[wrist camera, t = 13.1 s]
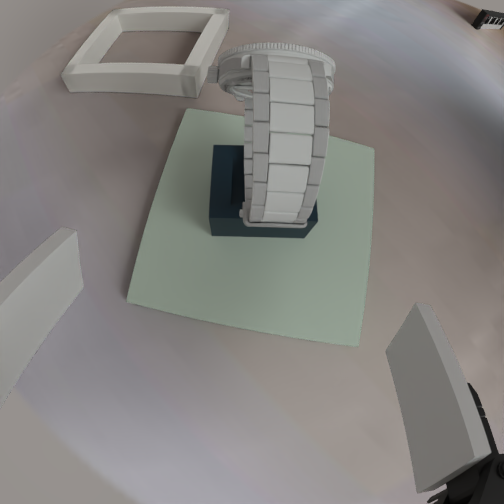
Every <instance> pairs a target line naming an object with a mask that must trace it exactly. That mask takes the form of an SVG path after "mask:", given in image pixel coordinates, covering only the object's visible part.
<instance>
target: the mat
mask: <svg viewBox="0 0 504 504" xmlns="http://www.w3.org/2000/svg"><path fill="white" fill-rule="evenodd" d="M244 126H245V117H244V116H238V115H232V114H226V113H219V112H212V111H205V110H198V109H190V108H187V109H186V112H185V114H184V117H183V119H182V122H181V124H180V127H179V129H178V132H177V134H176V137H175V140H174V142H173V145H172V148H171V150H170V153H169V156H168V159H167V161H166V164H165V167H164V170H163V173H162V176H161V179H160V182H159V185H158V188H157V191H156V194H155V197H154V200H153V203H152V207H151V210H150V213H149V216H148V220H147V223H146V226H145V230H144V233H143V237H142V240H141V244H140V248H139V251H138V255H137V259H136V263H135V266H134V270H133V274H132V278H131V283H130V287H129V291H128V295H127V300H126V302H129V303H133V304H136V305H140V306H144V307H148V308H152V309H156V310H160V311H164V312H168V313H172V314H177V315H181V316H185V317H189V318H194V319H198V320H203V321H207V322H212V323H217V324H222V325H226V326H231V327H236V328H241V329H247V330H252V331H257V332H263V333H268V334H274V335H279V336H285V337H291V338H297V339H304V340H310V341H317V342H324V343H331V344H338V345H346V346H353V347H358V346H359V340H360V334H361V328H362V321H363V314H364V307H365V299H366V291H367V282H368V273H369V263H370V251H371V238H372V223H373V202H374V148H371V147H367V146H364V145H361V144H358V143H354V142H351V141H347V140H344V139H340V138H337V137H333V136H329V138H328V147H327V154H326V157H324V158H325V164H324V170H323V174H322V179H321V183H320V185H319V191H318V195H317V211H318V222H317V223H316V225H315V226H314V227H313V228H312V230H311V231H310V232H309V233H308V235H307V236H306V237H305V238H271V237H232V236H212V234H211V228H210V223H209V202H210V186H211V171H212V157H213V145H244ZM246 126H252V125H246ZM269 133H278V132H269ZM287 134H296V133H287ZM297 135H308V134H297ZM308 136H311V135H308ZM245 143H252V142H245ZM317 157H319V156H317Z"/></svg>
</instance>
